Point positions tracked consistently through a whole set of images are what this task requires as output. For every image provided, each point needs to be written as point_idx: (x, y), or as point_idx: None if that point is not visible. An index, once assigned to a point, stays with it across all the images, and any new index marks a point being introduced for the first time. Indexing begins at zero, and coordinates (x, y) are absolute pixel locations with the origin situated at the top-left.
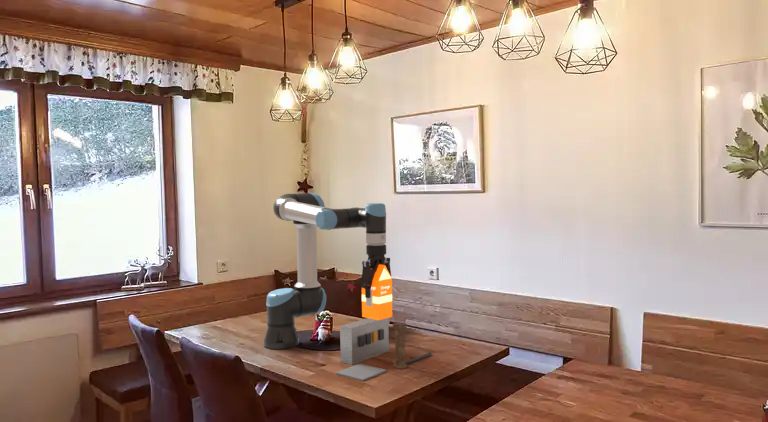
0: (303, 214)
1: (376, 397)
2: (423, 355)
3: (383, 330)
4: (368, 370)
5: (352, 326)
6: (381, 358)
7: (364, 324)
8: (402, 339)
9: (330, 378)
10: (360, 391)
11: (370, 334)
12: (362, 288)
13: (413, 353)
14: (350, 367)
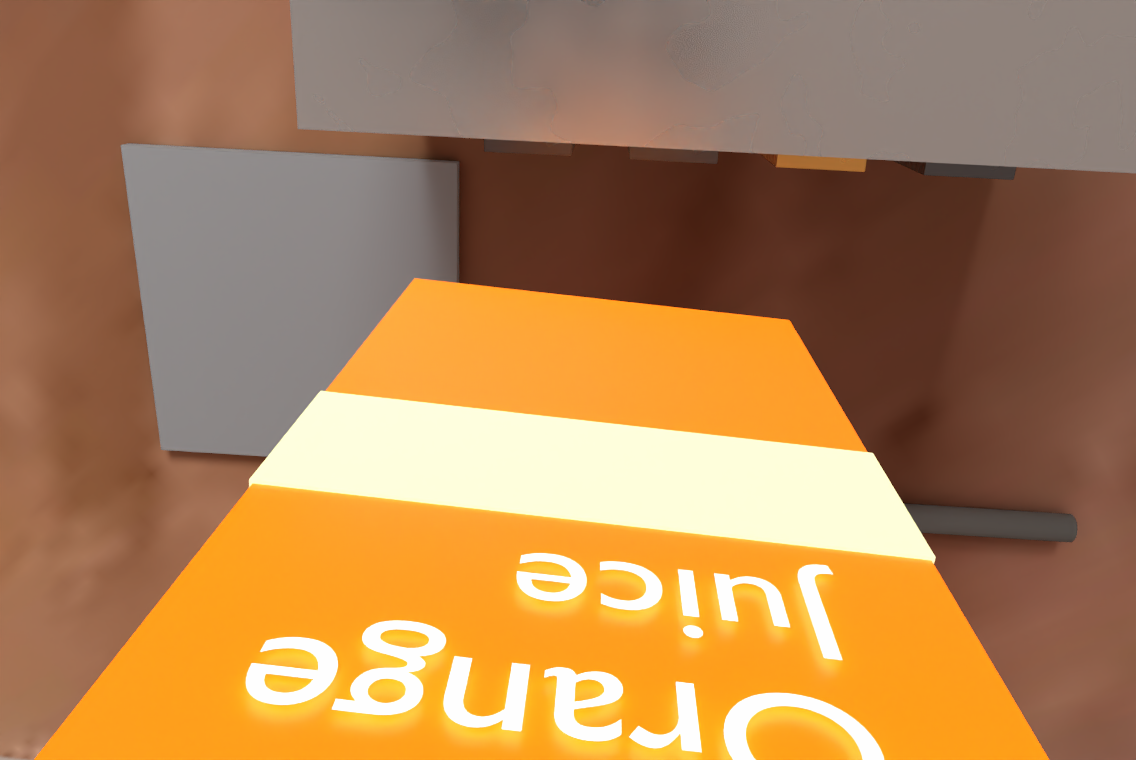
0: None
1: (26, 677)
2: (946, 533)
3: (993, 177)
4: (352, 356)
5: (386, 67)
6: (749, 208)
7: (618, 144)
8: None
9: (24, 183)
10: (18, 546)
11: (705, 160)
12: (159, 646)
13: (1045, 373)
14: (309, 167)
